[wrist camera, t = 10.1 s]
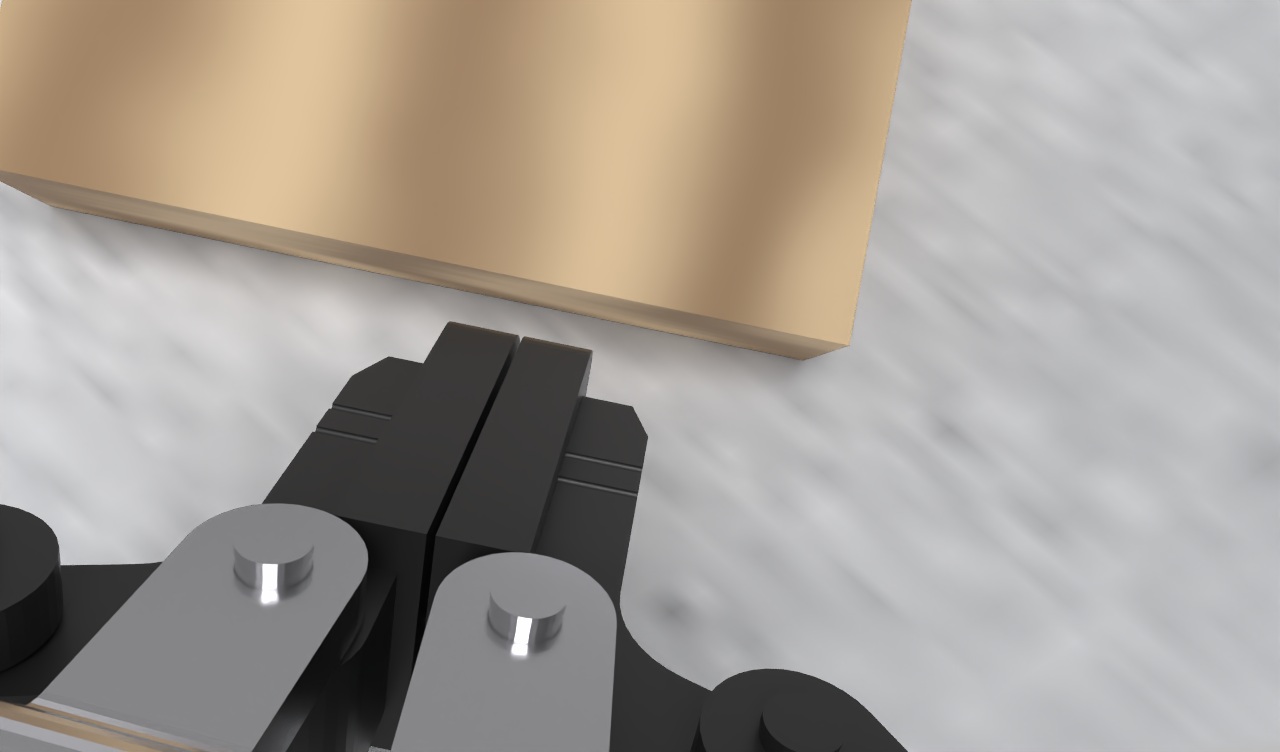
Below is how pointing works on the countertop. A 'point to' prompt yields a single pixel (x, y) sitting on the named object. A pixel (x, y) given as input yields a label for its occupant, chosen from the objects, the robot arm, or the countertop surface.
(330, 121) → the wooden block
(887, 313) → the countertop surface
